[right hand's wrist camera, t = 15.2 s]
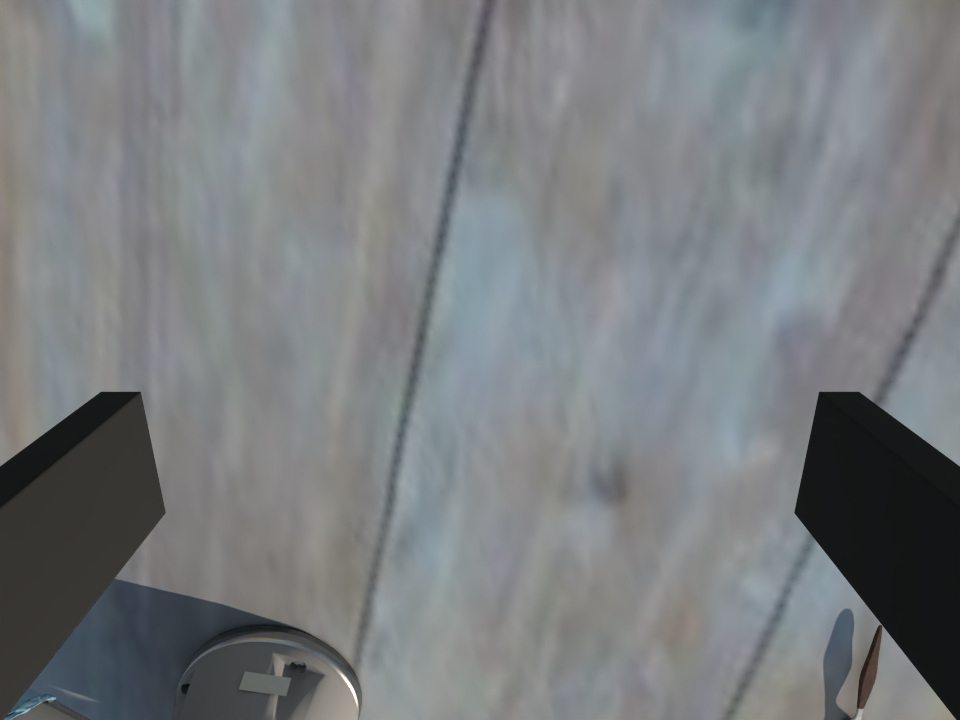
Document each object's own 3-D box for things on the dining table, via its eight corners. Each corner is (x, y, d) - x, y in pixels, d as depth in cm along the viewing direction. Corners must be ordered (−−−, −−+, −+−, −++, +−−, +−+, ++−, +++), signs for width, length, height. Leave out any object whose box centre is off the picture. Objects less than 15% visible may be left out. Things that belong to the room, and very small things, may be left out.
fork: (893, 620, 53) (908, 638, 51) (858, 758, 59) (870, 779, 57) (861, 621, 53) (875, 639, 51) (829, 759, 59) (840, 780, 57)
